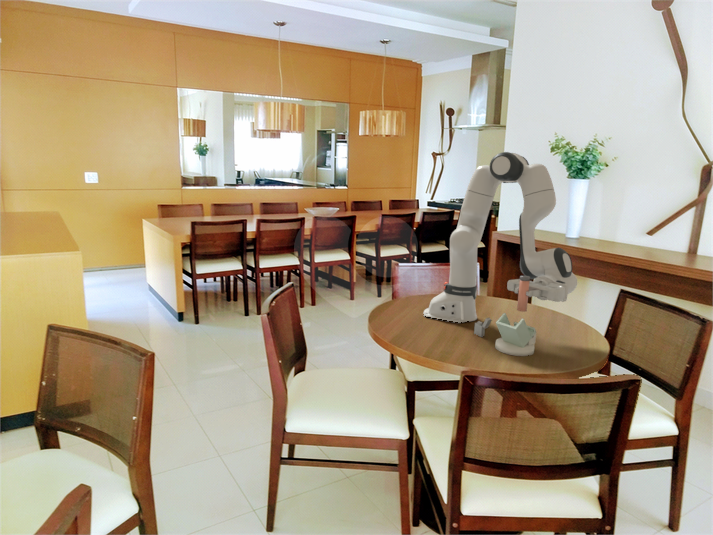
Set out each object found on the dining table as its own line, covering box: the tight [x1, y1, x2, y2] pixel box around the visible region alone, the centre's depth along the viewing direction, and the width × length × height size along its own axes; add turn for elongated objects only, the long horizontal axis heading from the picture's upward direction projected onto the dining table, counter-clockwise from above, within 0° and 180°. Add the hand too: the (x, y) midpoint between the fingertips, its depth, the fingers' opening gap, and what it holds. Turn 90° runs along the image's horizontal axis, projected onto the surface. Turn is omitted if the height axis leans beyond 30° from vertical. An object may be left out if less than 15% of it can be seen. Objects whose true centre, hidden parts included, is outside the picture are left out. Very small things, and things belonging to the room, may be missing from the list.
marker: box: [516, 275, 531, 313], centre depth 166 cm, size 3×3×12 cm
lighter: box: [473, 317, 493, 338], centre depth 180 cm, size 7×2×8 cm, turn 27°
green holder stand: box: [494, 312, 537, 357], centre depth 167 cm, size 13×13×12 cm
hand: (522, 292), depth 165 cm, fingers closed on marker, 3 cm apart
